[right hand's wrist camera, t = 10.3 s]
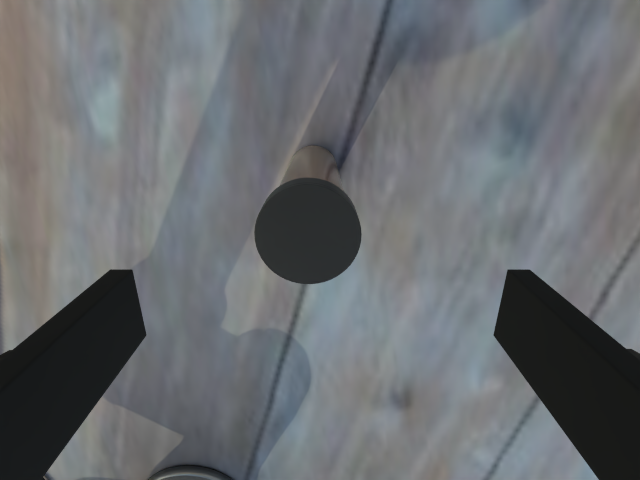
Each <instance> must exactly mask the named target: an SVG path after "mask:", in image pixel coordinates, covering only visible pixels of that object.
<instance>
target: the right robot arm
mask: <svg viewBox="0 0 640 480" xmlns="http://www.w3.org/2000/svg"><path fill="white" fill-rule="evenodd" d="M145 336H146V331H145V326H144V322H143V317H142V312H141V308H140V303H139V298H138V294H137V289H136V285H135V280H134V275H133V271H132V270H109V271H108V272H107V273H106V274H105V275H103V276H102V277H101V278H100V279H98V280H97V281H96V282H95V283H94V284H92V285H91V286H90V287H89V288H87V289H86V290H85V291H84V292H83V293H81V294H80V295H79V296H78V297H77V298H75V299H74V300H73V301H72V302H70V303H69V304H68V305H67V306H66V307H64V308H63V309H62V310H61V311H60V312H58V313H57V314H56V315H55V316H53V317H52V318H51V319H50V320H49V321H47V322H46V323H45V324H44V325H42V326H41V327H40V328H39V329H38V330H36V331H35V332H34V333H33V334H32V335H30V336H29V337H28V338H27V339H25V340H24V341H23V342H22V343H21V344H19V345H18V346H17V347H16V348H14V349H13V350H9V351H7V352H5V353H3V354H1V355H0V480H45V479H44V478H43V476H44V475H45V473H46V472H47V471H48V469H49V468H50V467H51V465H52V464H53V462H54V461H55V460H56V458H57V457H58V456H59V454H60V453H61V452H62V450H63V449H64V447H65V446H66V445H67V443H68V442H69V441H70V439H71V438H72V436H73V435H74V434H75V432H76V431H77V430H78V428H79V427H80V426H81V424H82V423H83V421H84V420H85V419H86V417H87V416H88V415H89V413H90V412H91V410H92V409H93V408H94V406H95V405H96V404H97V402H98V401H99V399H100V398H101V397H102V395H103V394H104V393H105V391H106V390H107V389H108V387H109V386H110V384H111V383H112V382H113V380H114V379H115V378H116V376H117V375H118V373H119V372H120V371H121V369H122V368H123V367H124V365H125V364H126V362H127V361H128V360H129V358H130V357H131V356H132V354H133V353H134V352H135V350H136V349H137V347H138V346H139V345H140V343H141V342H142V341H143V339H144V338H145ZM494 336H495V338H496V339H497V341H498V342H499V343H500V345H501V346H502V347H503V349H504V350H505V352H506V353H507V354H508V356H509V357H510V358H511V360H512V361H513V362H514V364H515V365H516V367H517V368H518V369H519V371H520V372H521V373H522V375H523V376H524V378H525V379H526V380H527V382H528V383H529V384H530V386H531V387H532V389H533V390H534V391H535V393H536V394H537V395H538V397H539V398H540V399H541V401H542V402H543V404H544V405H545V406H546V408H547V409H548V410H549V412H550V413H551V415H552V416H553V417H554V419H555V420H556V421H557V423H558V424H559V426H560V427H561V428H562V430H563V431H564V432H565V434H566V435H567V436H568V438H569V439H570V441H571V442H572V443H573V445H574V446H575V447H576V449H577V450H578V452H579V453H580V454H581V456H582V457H583V458H584V460H585V461H586V462H587V464H588V465H589V467H590V468H591V469H592V471H593V472H594V473H595V475H596V476H597V478H598V479H599V480H640V353H638V352H636V351H634V350H632V349H626V348H624V347H623V346H622V345H621V344H619V343H618V342H617V341H616V340H615V339H613V338H612V337H611V336H610V335H608V334H607V333H606V332H605V331H604V330H602V329H601V328H600V327H599V326H598V325H596V324H595V323H594V322H593V321H591V320H590V319H589V318H588V317H587V316H585V315H584V314H583V313H582V312H580V311H579V310H578V309H577V308H576V307H574V306H573V305H572V304H571V303H570V302H568V301H567V300H566V299H565V298H563V297H562V296H561V295H560V294H559V293H557V292H556V291H555V290H554V289H553V288H551V287H550V286H549V285H548V284H546V283H545V282H544V281H543V280H542V279H540V278H539V277H538V276H537V275H535V274H534V273H533V272H532V271H531V270H508V271H507V275H506V280H505V285H504V289H503V294H502V298H501V303H500V308H499V312H498V317H497V322H496V326H495V331H494ZM149 480H232V479H230V478H229V477H228V476H226V475H224V474H222V473H220V472H217V471H215V470H212V469H209V468H204V467H198V466H177V467H172V468H168V469H165V470H162V471H160V472H158V473H156V474H155V475H153V476H152V477H151V478H150V479H149Z"/></svg>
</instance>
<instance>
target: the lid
mask: <svg viewBox="0 0 640 480" xmlns="http://www.w3.org/2000/svg"><path fill="white" fill-rule="evenodd" d="M255 243H256V247H257V250H258V252H259V254H260V256H261V258H262V260H263V261H264V263H265V264H266V265H267V266H268V267H269V268H270V269H271V270H272V271H273V272H274V273H276V274H277V275H279V276H280V277H282V278H284V279H286V280H289V281H292V282H296V283H301V284H316V283H321V282H325V281H328V280H331V279H333V278H335V277H337V276H338V275H340V274H341V273H342V272H344V271H345V270H346V269H347V268H348V267H349V266H350V265H351V263H352V262H353V260H354V259H355V257H356V255H357V253H358V250H359V247H360V243H361V226H360V222H359V219H358V216H357V213H356V210H355V207H354V205H353V203H352V201H351V200H350V198H349V197H348V196H347V194H346V193H345V192H344V191H343V190H341V189H340V188H339V187H338V186H336V185H334V184H333V183H331V182H328V181H326V180H322V179H319V178H307V177H305V178H298V179H294V180H291V181H288V182H286V183H284V184H282V185H281V186H279V187H278V188H277V189H275V190H274V191H273V192H272V193H271V194H270V196H269V197H268V198H267V200H266V201H265V203H264V205H263V207H262V209H261V211H260V213H259V215H258V217H257V220H256V224H255Z"/></svg>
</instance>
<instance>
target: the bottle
mask: <svg viewBox="0 0 640 480" xmlns="http://www.w3.org/2000/svg"><path fill="white" fill-rule="evenodd" d="M305 177H307V178H319V179H322V180H326V181H328V182H331V183H333V184H334V185H336V186H338V187H339V188H340V189H341V190H343V186H342V182H341V178H340V175H339V171H338V167H337V163H336V161H335V158H334V157H333V155H332V154H331V153H330V152H329V151H328V150H327V149H325V148H323V147H320V146H315V145H312V146H306V147H304V148H302V149H300V150H299V151H297V152H296V153H295V155H294V156H293V158H292V160H291V162H290V164H289V166H288V169H287V171H286V173H285V175H284V177H283V180H282V182H281V184H280V186H281V185H282V184H284V183H286V182H288V181H291V180H294V179H298V178H305ZM343 191H344V190H343Z"/></svg>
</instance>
